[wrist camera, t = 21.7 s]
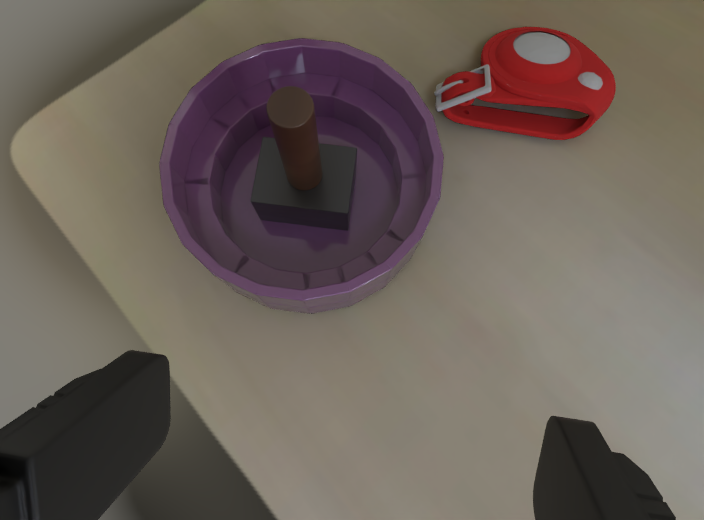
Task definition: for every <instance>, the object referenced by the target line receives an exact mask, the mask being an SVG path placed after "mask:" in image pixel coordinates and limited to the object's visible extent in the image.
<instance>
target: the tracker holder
mask: <svg viewBox="0 0 704 520" xmlns="http://www.w3.org/2000/svg"><path fill="white" fill-rule="evenodd" d="M615 88H616V86H615V80H614V76H613V74H612V72H611V70H610V69H609V68H608V67H607V66H606V64H605V63H604V62H603V61H602V60H601V59H600V58H599V57H598V56H597V55H596V54H595V53H594V52H592V51H591V50H590V49H589V48H588V47H587V46H585V45H584V44H583V43H581V42H580V41H579V40H577V39H576V38H574V37H572V36H570V35H568V34H566V33H563V32H560V31H557V30H553V29H548V28H540V27H521V28H513V29H509V30H506V31H503V32H501V33H499V34H496V35H495V36H493V37H492V38H491V39H490V40H489V41H488V42H487V43H486V44H485V45H484V48H483V50H482V54H481V67H479V68H477V69H474V70H472V71H469V72H468V71H465V72H459V73H456V74H454V75H452V76H450V77H448V78H446V80H445V81H444V82H443V83H440V84H438V85H437V86H436V91H435V92H434V94H435V95H436V110H437V111H438V112H439V111H443V113H444V115H445V116H446V117H447V118H448V119H450V120H452V121H454V122H457V123H460V124H465V125H470V126H474V127H480V128H486V129H492V130H498V131H505V132H511V133H517V134H523V135H529V136H535V137H541V138H547V139H553V140H565V139H570V138H574V137H577V136H579V135H581V134H582V133H584V132H585V131H587V130H588V129H589V128H590V127H591V126H592V125H593V124H594V123H595V122H596V121H597V120H598V119H599V118H600V117H601V116H602V115H603V113H604V112H605V111H606V110H607V109H608V107H609V106H610V104H611V102H612V100H613V98H614V95H615ZM475 98H477V99H480V100H483V101H486V102H493V103H503V104H515V105H529V106H542V107H556V108H566V109H570V110H575V111H580V112H583V113H586V114H588V116H586V117H583V118H580V119H566V118H559V117H552V116H545V115H538V114H531V113H524V112H517V111H510V110H503V109H496V108H490V107H482V106H474V105H471V104H472V103H473V102H474V99H475Z"/></svg>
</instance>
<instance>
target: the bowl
mask: <svg viewBox="0 0 704 520" xmlns="http://www.w3.org/2000/svg"><path fill="white" fill-rule="evenodd" d="M286 86H295V87H299V88H302V89H303V90H305V91H306V92H307V93H308V94H309V95H310V96H311V98H312V99H313V102H314V109H315V117H316V125H317V133H318V141H319V143H321V144H329V145H338V146H346V147H354V148H357V168H356V178H355V185H354V193H353V200H352V207H351V215H350V222H349V230H348V231H346V230H337V229H329V228H321V227H313V226H305V225H297V224H289V223H281V222H273V221H265V220H260V218H259V216H258V214H257V212H256V211H255V209H254V207H253V205H252V203H251V202H250V200H251V195H252V190H253V184H254V179H255V174H256V169H257V163H258V158H259V153H260V148H261V142H262V137H271V138H275V137H274V134H273V131H272V127H271V124H270V121H269V118H268V114H267V109H266V107H267V102H268V99H269V98H270V96H271V95H272V94H273V93H274V92H275V91H276V90H278V89H280V88H282V87H286ZM443 159H444V157H443V152H442V148H441V144H440V140H439V136H438V132H437V129H436V125H435V121H434V118H433V116H432V114H431V112H430V111H429V109H428V108H427V106H426V105H425V103H424V102H423V100H422V99H421V97H420V96H419V94H418V93H417V91H416V90H415V88H414V87H413V85H412V84H411V83H410V82H409V81H408V80H406V79H405V78H404V77H403V76H401V75H400V74H399V73H398V72H396V71H395V70H394V69H393V68H391V67H390V66H389V65H388V64H387V63H385V62H384V61H383V60H382V59H380V58H378V57H376V56H373V55H371V54H368V53H366V52H364V51H361V50H359V49H356V48H354V47H351V46H349V45H347V44H344V43H340V42H332V41H323V40H314V39H305V38H298V39H292V40H285V41H279V42H273V43H266V44H261V45H258V46H256V47H253V48H251V49H249V50H247V51H245V52H242V53H240V54H238V55H236V56H234V57H232V58H229V59H227V60H225V61H223V62H221V63H220V64H219V65H218V66H217V67H215V68H214V69H213V70H212V71H211V72H210V73H208V74H207V75H206V76H205V77H204V78H203V79H202V80H200V81H199V82H198V83H197V84H196V85H195V86H193V87H192V88H191V89H190V91H189V92H188V94H187V96H186V97H185V99H184V100H183V102H182V104H181V105H180V107H179V108H178V110H177V112H176V113H175V115H174V116H173V118H172V119H171V121H170V123H169V125H168V129H167V134H166V138H165V142H164V146H163V150H162V154H161V158H160V164H159V167H160V176H161V186H162V196H163V204H164V208H165V210H166V212H167V214H168V216H169V218H170V220H171V222H172V224H173V226H174V228H175V230H176V232H177V234H178V237H179V239H180V241H181V243H182V244H183V245H184V246H185V247H186V248H187V249H188V250H189V251H190V252H191V253H192V254H193V255H194V256H195V257H196V258H197V259H198V260H199V261H200V262H201V263H202V264H203V265H204V266H205V267H206V268H207V269H208V270H209V271H210V272H211V273H212V274H213V275H215V276H216V277H217V278H219V279H220V280H221V281H223V282H224V283H225V284H226V285H228V286H229V287H230V288H232V289H233V290H234V291H236V292H237V293H239V294H241V295H243V296H246V297H248V298H250V299H252V300H254V301H256V302H258V303H260V304H262V305H264V306H266V307H269V308H272V309H277V310H285V311H293V312H301V313H311V314H312V313H317V312H323V311H328V310H333V309H339V308H344V307H349V306H351V305H353V304H355V303H357V302H359V301H361V300H362V299H364V298H366V297H368V296H370V295H372V294H373V293H375V292H377V291H379V290H381V289H383V288H384V287H385V286H386V285H387V284H388V283H389V282H390V281H391V280H392V279H393V278H394V277H395V276H396V274H397V273H398V272H399V271H400V270H401V269H402V268H403V267H404V266H405V265H406V264H407V263H408V262H409V261H410V259H411V257H412V255H413V254H414V252H415V250H416V248H417V246H418V244H419V242H420V240H421V238H422V237H423V235H424V232H425V230H426V228H427V226H428V223H429V221H430V219H431V217H432V215H433V212H434V210H435V208H436V206H437V204H438V201H439V199H440V194H441V183H442V171H443Z"/></svg>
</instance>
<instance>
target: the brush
mask: <svg viewBox="0 0 704 520" xmlns="http://www.w3.org/2000/svg"><path fill="white" fill-rule="evenodd" d="M266 109H267V114H268V118H269V121H270V124H271V127H272V131H273V134H274V137H275V138H271V137H262V142H261V148H260V153H259V158H258V163H257V169H256V174H255V179H254V184H253V190H252V195H251V200H250V202H251V203H252V205H253V207H254V209H255V211H256V212H257V214H258V216H259V218H260V220H265V221H273V222H281V223H289V224H297V225H305V226H313V227H321V228H329V229H337V230H346V231H348V230H349V222H350V215H351V207H352V200H353V193H354V185H355V178H356V168H357V148H354V147H346V146H338V145H329V144H321V143H319V141H318V133H317V125H316V117H315V109H314V102H313V99H312V98H311V96H310V95H309V94H308V93H307V92H306V91H305V90H303V89H302V88H299V87H295V86H286V87H282V88H280V89H278V90H276V91H275V92H274V93H273V94H272V95H271V96H270V98H269V99H268V102H267V107H266Z"/></svg>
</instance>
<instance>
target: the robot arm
mask: <svg viewBox="0 0 704 520" xmlns="http://www.w3.org/2000/svg"><path fill="white" fill-rule="evenodd" d="M169 426H170V371H169V361H168V359H167V357H166V356H164V355H160V354H154V353H147V352H140V351H134V350H130V351H127V352H125V353H124V354H122V355H121V356H120V357H118V358H117V359H115V360H114V361H113V362H111V363H110V364H108V365H107V366H105V367H104V368H102V369H99V370H96V371H94V372H91V373H89V374H86V375H84V376H81V377H79V378H76V379H74V380H73V381H71V382H70V383H68V384H67V385H65V386H64V387H62V388H61V389H60V390H58V391H56V392H55V394H54V396H49V397H48V398H46V399H44V400H43V401H41V402H40V403H38V404H37V407H36V408H34V407H32V408H31V409H30V410H28V411H27V412H25V413H24V414H22V415H21V416H19V417H18V418H17V419H15V420H13V421H12V422H10V423H9V424H7V425H6V426H4V427H3V428H1V429H0V520H98V519H99V518H100V517H101V515H102V514H103V513H104V512H105V511H106V510H107V509H108V507H109V506H110V505H111V504H112V503H113V502H114V501H115V499H116V498H117V497H118V496H119V495H120V494H121V493H122V491H123V490H124V489H125V488H126V487H127V486H128V484H129V483H130V482H131V481H132V480H133V479H134V478H135V477H136V475H137V474H138V473H139V472H140V471H141V469H143V467H144V466H145V465H146V464H147V463H148V462H149V461H150V459H151V458H152V457H153V456H154V455H155V454H156V452H157V451H158V450H159V449H160V448H161V446H162V445H163V443H164V441H165V439H166V436H167V434H168V431H169ZM533 507H534V515H535V520H676V517H675V516H674V514H673V513H672V511H671V510H670V508H669V507H668V505H667V503H666V502H663V497H662V496H661V494H660V493H659V491H658V490H657V488H656V487H655V485H654V483H653V482H652V480H651V479H650V477H649V476H648V475H647V474H646V473H645V472H644V471H643V470H642V469H641V468H639V467H638V466H637V465H636V464H635V463H634V462H632V461H631V460H630V459H629V458H628V457H627V456H625V455H624V454H621V453H615V452H611V450H610V448H609V446H608V445H607V443H606V441H605V440H604V438H603V436H602V434H601V433H600V431H599V429H598V428H597V426H596V425H595V423H593V422H590V421H583V420H577V419H570V418H564V417H557V416H551V417H550V418H549V420H548V422H547V425H546V430H545V434H544V439H543V444H542V449H541V453H540V458H539V463H538V467H537V472H536V477H535V482H534V489H533Z"/></svg>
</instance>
